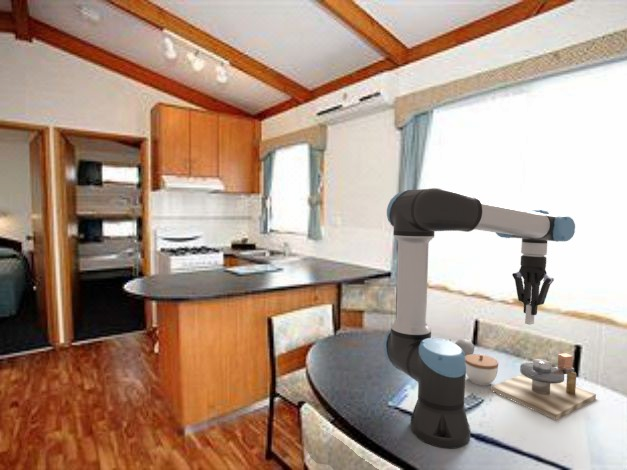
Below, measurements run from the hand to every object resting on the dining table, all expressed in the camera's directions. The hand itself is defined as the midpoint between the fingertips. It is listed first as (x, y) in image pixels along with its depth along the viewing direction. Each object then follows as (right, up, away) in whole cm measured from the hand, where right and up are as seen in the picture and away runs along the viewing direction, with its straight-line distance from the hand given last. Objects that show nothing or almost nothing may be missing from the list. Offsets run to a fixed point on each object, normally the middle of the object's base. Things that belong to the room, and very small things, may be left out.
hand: (529, 323), depth 128 cm
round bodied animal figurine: (-17, -19, +21) cm, 33 cm away
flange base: (-1, -21, -8) cm, 23 cm away
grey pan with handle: (+2, -14, -8) cm, 17 cm away
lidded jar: (-16, -21, +1) cm, 26 cm away
